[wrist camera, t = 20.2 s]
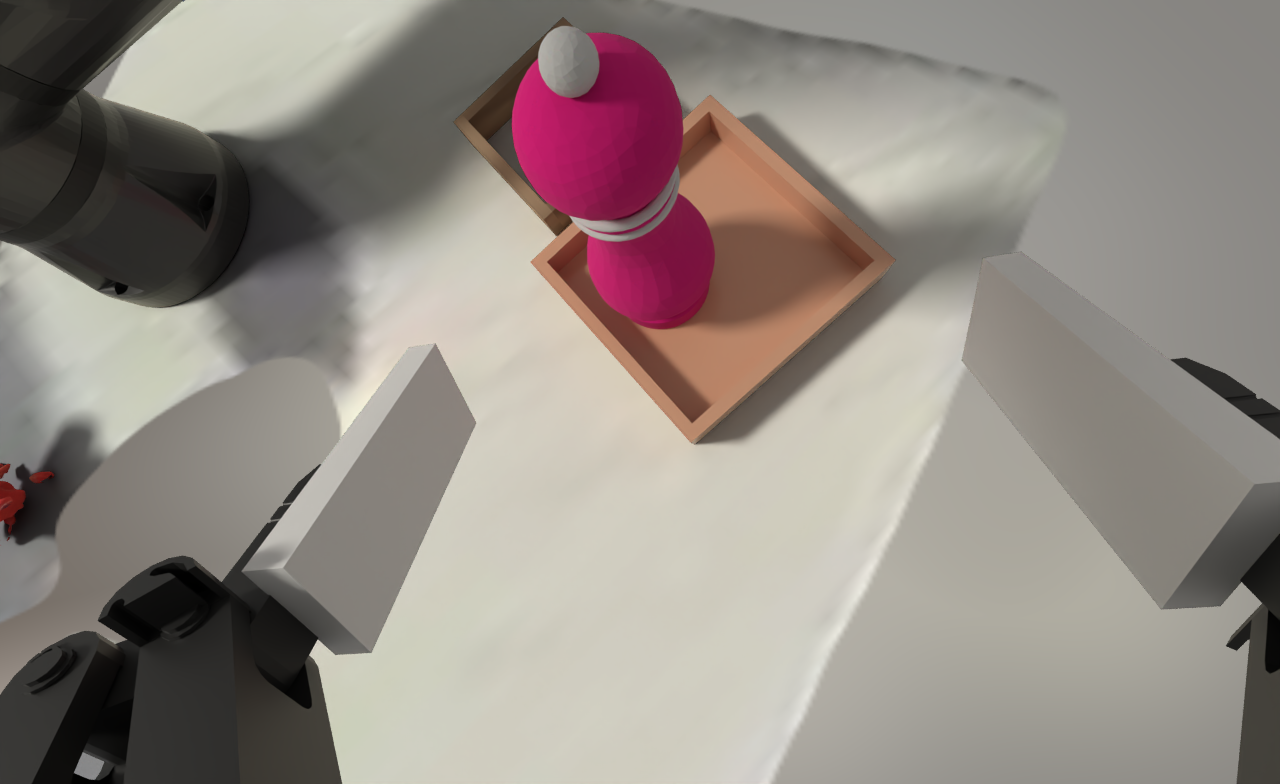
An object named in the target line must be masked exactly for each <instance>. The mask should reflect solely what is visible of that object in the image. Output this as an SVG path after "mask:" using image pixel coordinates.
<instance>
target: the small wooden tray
mask: <svg viewBox="0 0 1280 784" xmlns="http://www.w3.org/2000/svg"><path fill="white" fill-rule="evenodd" d="M560 26H570V27H573V26H572V25H571V24H570V23H569V22H568V21H567V20H566V19H565V18H564V17H563V18H562V19H560V20H559V21H558V22H557V23H556V24H555V25H554V26H553V27H552V28H551V29H550V30H549V31H548V32H547V33H546V34H545V35H544V36H543V37H542V38H541V39H540V40H539V41H537V42H536V43H535V44H534V45H533V46H532V47H531V48H530V49H529V50H528V51H527V52H526V53H525V54H524V55H523V56H522V57H521V58H520V59H519V60H518V61H517V62H515V63H514V64H513V65H512V66H511V67H510V68H509V69H508V70H507V71H506V72H505V73H504V74H503V75H502V76H501V77H500V78H499V79H498V80H497V81H496V82H495V83H494V84H492V85H491V86H490V87H489V88H488V89H487V90H486V91H485V92H484V93H483V94H482V95H481V96H480V97H479V98H478V99H477V100H476V101H475V102H474V103H473V104H472V105H471V106H469V107H468V108H467V109H466V110H465V111H464V112H463V113H462V114H461V115H460V116H459V117H458V118H457V119H456V120H455V121H454V123H455V125H456V126H457V127H458V128H459V129H460V131H461V132H462V133H463V134H464V135H465V137H466V138H467V139H468V140H469V141H470V143H471V144H472V145H473V146H474V147H475V148H476V149H477V150H478V151H479V153H480V154H481V155H482V156H483V157H484V158H485V159H486V160H487V161H488V162H489V163H490V164H491V166H492V167H493V168H494V169H495V170H496V171H497V172H498V173H499V174H500V175H501V176H502V178H503V179H504V180H505V181H506V182H507V183H508V184H509V185H510V186H511V187H512V188H513V189H514V191H515V192H516V193H517V194H518V195H519V196H520V197H521V198H522V199H523V200H524V201H525V203H526V204H527V205H528V206H529V207H530V208H531V209H532V210H533V211H534V212H535V213H536V214H537V216H538V217H539V218H540V219H541V220H542V221H543V222H544V223H545V224H546V225H547V226H548V228H549V229H550V230H551V231H552V232H553V233H554V234H555V235H556V236H557V235H558V234H559V233H560V232H561V231H562V230H564V229H565V228H566V227H567V226H568V225H569V224H570V223H571V222H572V219H571V218H570V216H569V215H567V214H565V213H562V212H560V211H559V210H557V209H556V208H554V207H553V206H552V205H550V204H549V203H546V204H545V203H544V202H543V201H542V200H541V199H540V198H539V197H538V196H537V195H536V193H535V192H534V191H533V190H532V189H531V188H530V187H529V186H528V185H527V184H526V183H525V182H524V181H523V180H522V178H521V177H520V176H519V175H518V174H517V173H516V172H515V171H514V170H513V169H512V168H511V167H510V166H509V165H508V163H507V162H506V161H505V160H504V159H503V158H502V157H501V156H500V155H499V154H498V153H497V152H496V151H495V149H494V148H493V147H492V146H491V145H490V144H489V143H488V142H487V140H488V139H489V138H490V137H491V136H492V135H493V134H494V133H495V132H496V131H497V130H499V129H500V128H501V127H502V126H503V125H504V124H505V123H506V122H507V121H508V120H509V119H510V118H511V117H512V111H513V107H514V102H515V98H516V94H517V91H518V89H519V86H520V83H521V81H522V80H523V78H524V76H525V74H526V72H527V70H528V69H529V68H530V67H531V65H532V64H533V63H534V62H535V61H536V60H537V59H538V53H539V49H540V45H541V43H542V41H543V39H544V38H545V37H546V35H547V34H548V33H549V32H550V31H552V30H553V29H555V28H558V27H560Z"/></svg>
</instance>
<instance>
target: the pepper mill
mask: <svg viewBox="0 0 1280 784" xmlns="http://www.w3.org/2000/svg"><path fill="white" fill-rule="evenodd" d="M683 130H684V128H683V119H682V109H681V105H680V102H679V99H678V96H677V93H676V90H675V87H674V85H673V83H672V81H671V79H670V77H669V75H668V74H667V72H666V70H665V69H664V67H663V66H662V65H661V64H660V63H659V62H658V60H657V59H656V58H655V57H654V56H653V54H651V53H650V52H649V51H648V50H646V49H645V48H644V47H642V46H641V45H639V44H638V43H636V42H635V41H633V40H630V39H628V38H625V37H623V36H620V35H615V34H609V33H584V32H583V31H581V30H580V29H578V28H577V27H570V26H560V27H558V28H555V29H553V30H552V31H550V32H549V33H548V34H547V35H546V37H545V38H544V39H543V41H542V43H541V45H540V49H539V53H538V59H537V60H536V61H535V62H534V63H533V64H532V65H531V67H530V68H529V69H528V70H527V72H526V74H525V76H524V78H523V80H522V81H521V83H520V86H519V89H518V91H517V94H516V98H515V102H514V107H513V111H512V133H513V141H514V147H515V150H516V153H517V156H518V160H519V163H520V166H521V168H522V170H523V171H524V173H525V175H526V177H527V179H528V180H529V181H530V183H531V184H532V186H533V187H534V189H535V190H536V192H537V193H538V194H539V195H540V196H541V197H542V198H543V199H544V200H545V201H546V202H547V203H549V204H550V205H552V206H553V207H554V208H556V209H557V210H559V211H560V212H562V213H565V214H567V215H569V216H570V218H571V219H572V221H573V222H574V223H575V225H576V226H577V227H578V228H579V229H581V230H582V231H583V232H585V233H586V234H588V235H589V236H588V243H587V263H588V268H589V273H590V276H591V278H592V281H593V283H594V285H595V287H596V289H597V291H598V292H599V294H600V295H601V297H602V298H603V300H604V301H605V302H606V303H607V304H608V305H609V306H610V307H611V308H613V309H614V310H616V311H617V312H619V313H620V314H622V315H624V316H627V317H629V318H630V319H631V320H632V321H633V322H635V323H637V324H639V325H641V326H644V327H646V328H651V329H668V328H673V327H676V326H679V325H681V324H683V323H685V322H686V321H688V320H689V319H691V318H692V317H693V316H694V315H695V314H696V313H697V312H698V311H699V310H700V308H701V307H702V305H703V304H704V302H705V300H706V298H707V295H708V291H709V285H710V279H711V277H712V273H713V269H714V263H715V249H714V243H713V239H712V236H711V233H710V229H709V227H708V225H707V223H706V220H705V219H704V217H703V216H702V214H701V213H700V212H699V211H698V209H697V208H696V207H695V206H694V205H693V204H692V203H691V202H690V201H689V200H688V199H687V198H685V197H684V196H683V195H681V194H679V193H678V190H679V184H680V177H679V168H678V161H679V158H680V154H681V150H682V146H683Z"/></svg>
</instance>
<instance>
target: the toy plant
mask: <svg viewBox="0 0 1280 784" xmlns="http://www.w3.org/2000/svg"><path fill="white" fill-rule="evenodd" d="M9 468H10V464H7V465H5V466H3V464H0V479H1V478H2V477H3V475H4V473H7V472H8V470H9ZM50 475H52V476H53V477H54V474H53V473H52V472H38V473H35V474H33V475H32V476H30V478H29V479H30V480H31V481H32V482H34V483H43V482H40V481H42V480H45V479H46V478H48V477H49V476H50ZM53 477H51V478H53ZM49 479H50V478H49ZM25 499H26V495H25V491H23V490H16V489H15V488H14V487H13V486H12V485H11V484H10V483H8V482H5V481H0V522H1V521H3V520H4V522H5V523H6V524H9V525H10V527H9V529H8V532H9V531H10V534H11V529H12V525H13V524H15V522H16V519H15V516H14V514H15V513H16V512H17V510H19V509H21V508H23V506H24V505H23V504H22V503H23V502H24V500H25ZM9 539H10V537H8V539H7V541H8V540H9Z"/></svg>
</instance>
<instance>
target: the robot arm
mask: <svg viewBox="0 0 1280 784" xmlns="http://www.w3.org/2000/svg"><path fill="white" fill-rule="evenodd" d="M182 1H183V2H184V1H185V0H0V240H1V241H4V242H7V243H10V244H13V245H17V246H19V247H21V248H23V249H25V250H27V251H29V252H30V253H32V254H34V255H36V256H37V257H39V258H41V259H42V260H44V261H46V262H48V263H49V264H51V265H53V266H55V267H56V268H58V269H60V270H62V271H63V272H65V273H67V274H68V275H70V276H72V277H74V278H75V279H77V280H79V281H81V282H82V283H84V284H86V285H88V286H89V287H91V288H93V289H94V290H96V291H98V292H100V293H102V294H104V295H107V296H109V297H112V298H115V299H119V300H122V301H126V302H130V303H134V304H137V305H141V306H146V307H167V306H172V305H176V304H179V303H181V302H184V301H186V300H188V299H190V298H192V297H194V296H196V295H197V294H199V293H200V292H202V291H203V290H204V289H206V288H207V287H208V286H209V285H210V284H211V283H213V282H214V281H215V280H216V279H217V278H218V277H219V275H220V274H221V273H222V272H223V271H224V269H225V268H226V267H227V265H228V264H229V262H230V261H231V259H232V258H233V256H234V254H235V252H236V250H237V249H238V246H239V244H240V242H241V239H242V237H243V234H244V231H245V227H246V223H247V218H248V210H249V193H248V186H247V181H246V177H245V175H244V172H243V170H242V167H241V165H240V164H239V162H238V160H237V159H236V158H235V156H234V155H233V154H232V153H231V152H230V151H229V150H228V149H227V148H226V147H224V146H223V145H221V144H220V143H218V142H217V141H215V140H213V139H212V138H210V137H209V136H207V135H205V134H204V133H202V132H200V131H199V130H197V129H195V128H193V127H191V126H189V125H186V124H184V123H181V122H178V121H174V120H171V119H168V118H165V117H161V116H158V115H155V114H152V113H148V112H145V111H142V110H139V109H135V108H132V107H129V106H125V105H122V104H119V103H116V102H112V101H109V100H106V99H103V98H99V97H97V96H94V95H92V94H91V93H89V92H87V91H85V90H84V89H83V88H84V87H85V86H86V85H87V84H88V83H89V82H91V81H92V80H93V79H94V78H95V77H96V76H97V75H99V74H100V73H101V72H102V71H103V70H104V69H105V68H106V67H108V66H109V65H110V64H111V63H112V62H113V61H114V60H116V59H117V58H118V57H119V56H120V55H121V54H122V53H124V52H125V51H126V50H127V49H128V48H129V47H130V46H132V45H133V44H134V43H135V42H136V41H137V40H138V39H140V38H141V37H142V36H143V35H144V34H145V33H146V32H147V31H149V30H150V29H151V28H152V27H153V26H154V25H155V24H157V23H158V22H159V21H160V20H161V19H162V18H163V17H165V16H166V15H167V14H168V13H169V12H170V11H171V10H173V9H174V8H175V7H176V6H177V5H178V4H179V3H180V2H182ZM962 362H963V363H964V364H965V365H966V367H967V368H968V369H969V370H970V372H971V373H972V374H973V375H974V377H975V378H976V379H977V380H978V382H979V383H980V384H981V385H982V387H983V388H984V389H985V390H986V391H987V393H988V394H989V395H990V397H991V398H992V399H993V400H994V401H995V403H996V404H997V405H998V406H999V408H1000V409H1001V410H1002V411H1003V413H1004V414H1005V415H1006V416H1007V418H1008V419H1009V420H1010V421H1011V423H1012V424H1013V425H1014V426H1015V428H1016V429H1017V430H1018V431H1019V433H1020V434H1021V435H1022V436H1023V438H1024V439H1025V440H1026V441H1027V443H1028V444H1029V445H1030V446H1031V448H1032V449H1033V450H1034V451H1035V453H1036V454H1037V455H1038V456H1039V458H1040V459H1041V460H1042V461H1043V463H1044V464H1045V465H1046V466H1047V468H1048V469H1049V470H1050V471H1051V473H1052V474H1053V475H1054V476H1055V478H1056V479H1057V480H1058V481H1059V483H1060V484H1061V485H1062V486H1063V488H1064V489H1065V490H1066V491H1067V493H1068V494H1069V495H1070V496H1071V498H1072V499H1073V500H1074V501H1075V503H1076V504H1077V505H1078V506H1079V508H1080V509H1081V510H1082V511H1083V513H1084V514H1085V515H1086V516H1087V518H1088V519H1089V520H1090V521H1091V523H1092V524H1093V525H1094V526H1095V527H1096V529H1097V530H1098V531H1099V532H1100V534H1101V535H1102V536H1103V537H1104V539H1105V540H1106V541H1107V543H1108V544H1109V545H1110V546H1111V547H1112V549H1113V550H1114V551H1115V552H1116V554H1117V555H1118V556H1119V558H1120V559H1121V560H1122V561H1123V562H1124V564H1125V565H1126V566H1127V567H1128V569H1129V570H1130V571H1131V572H1132V574H1133V575H1134V576H1135V577H1136V579H1137V580H1138V581H1139V582H1140V584H1141V585H1142V586H1143V587H1144V589H1145V590H1146V591H1147V592H1148V594H1149V595H1150V596H1151V597H1152V599H1153V600H1154V601H1155V602H1156V604H1157V605H1158V606H1159V607H1160V609H1178V608H1196V607H1214V606H1221V605H1222V604H1223V603H1224V601H1225V600H1226V599H1227V598H1228V597H1229V596H1230V595H1231V593H1232V592H1233V591H1234V590H1235V589H1236V588H1237V586H1238V585H1239V584H1240V583H1241V582H1242V583H1243V584H1244V585H1245V586H1246V587H1247V588H1248V589H1249V590H1250V591H1251V592H1252V593H1253V594H1254V595H1255V596H1256V597H1257V598H1258V599H1259V600H1260V601H1261V602H1262V604H1261V605H1260V606H1259V608H1258V609H1257V610H1256V611H1255V612H1254V613H1253V614H1252V615H1251V616H1250V617H1249V618H1248V619H1247V620H1246V621H1245V622H1244V623H1243V624H1242V625H1241V627H1239V629H1238V630H1237V631H1236V632H1235V633H1234V634H1233V635H1232V636H1231V638H1230V640H1229V641H1228V643H1227V645H1226V646H1227V647H1229V648H1232V649H1234V650H1238V649H1239V648H1240V647H1241V646H1242V645H1243V644H1244V643H1245V642H1246V641H1247V640H1249V639H1250V644H1249V654H1248V666H1247V676H1246V688H1245V699H1244V710H1243V720H1242V732H1241V742H1240V753H1239V764H1238V776H1237V784H1280V410H1278V409H1277V408H1275V407H1274V406H1272V405H1271V404H1270V403H1268V402H1267V401H1265V400H1263V399H1257V398H1256V394H1255V393H1253V392H1252V391H1250V390H1249V389H1247V388H1246V387H1244V386H1243V385H1242V384H1240V383H1239V382H1237V381H1236V380H1234V379H1233V378H1231V377H1230V376H1228V375H1227V374H1225V373H1223V372H1220V371H1218V370H1215V369H1213V368H1210V367H1208V366H1205V365H1202V364H1200V363H1197V362H1195V361H1193V360H1190V359H1187V358H1180V359H1171V360H1170V359H1168V358H1167V357H1166V356H1164V355H1163V354H1161V353H1160V352H1159V351H1157V350H1156V349H1155V348H1153V347H1152V346H1150V345H1149V344H1148V343H1146V342H1145V341H1144V340H1142V339H1141V338H1139V337H1138V336H1137V335H1135V334H1134V333H1133V332H1131V331H1130V330H1128V329H1127V328H1126V327H1124V326H1123V325H1121V324H1120V323H1119V322H1117V321H1116V320H1115V319H1113V318H1112V317H1111V316H1109V315H1108V314H1106V313H1105V312H1103V311H1102V310H1101V309H1099V308H1098V307H1096V306H1095V305H1094V304H1092V303H1091V302H1090V301H1088V300H1087V299H1086V298H1084V297H1083V296H1081V295H1080V294H1079V293H1077V292H1076V291H1075V290H1073V289H1072V288H1070V287H1069V286H1068V285H1066V284H1065V283H1063V282H1062V281H1061V280H1060V279H1058V278H1057V277H1055V276H1054V275H1052V274H1051V273H1050V272H1048V271H1047V270H1046V269H1044V268H1043V267H1042V266H1040V265H1039V264H1037V263H1036V262H1035V261H1033V260H1032V259H1031V258H1029V257H1028V256H1026V255H1025V254H1024V253H1022V252H1016V253H1010V254H1003V255H997V256H991V257H984V258H983V260H982V265H981V270H980V275H979V280H978V284H977V289H976V294H975V299H974V303H973V308H972V313H971V318H970V323H969V327H968V332H967V337H966V342H965V347H964V351H963V356H962ZM475 425H476V421H475V419H474V417H473V415H472V413H471V411H470V410H469V408H468V406H467V404H466V402H465V400H464V398H463V396H462V394H461V392H460V390H459V388H458V386H457V384H456V382H455V380H454V378H453V376H452V375H451V373H450V371H449V369H448V367H447V365H446V363H445V361H444V359H443V357H442V355H441V353H440V351H439V349H438V347H437V345H436V343H435V344H428V345H422V346H415V347H409V348H408V349H407V350H406V352H405V353H404V354H403V356H402V357H401V359H400V360H399V361H398V363H397V364H396V365H395V367H394V368H393V369H392V371H391V372H390V373H389V375H388V376H387V377H386V379H385V380H384V381H383V383H382V384H381V385H380V387H379V388H378V389H377V391H376V392H375V393H374V395H373V396H372V397H371V399H370V400H369V401H368V403H367V404H366V405H365V407H364V408H363V409H362V411H361V412H360V413H359V415H358V416H357V417H356V419H355V420H354V421H353V423H352V424H351V425H350V427H349V428H348V429H347V431H346V432H345V433H344V435H343V436H342V437H341V439H340V440H339V441H338V443H337V444H336V446H335V447H334V448H333V450H332V451H331V452H330V454H329V455H328V456H327V458H326V459H325V461H324V462H323V463H322V464H320V465H318V466H317V467H316V468H315V469H313V470H312V471H311V472H310V473H309V474H308V475H306V476H305V477H304V478H303V479H302V480H301V481H299V482H298V483H297V485H296V486H295V487H294V489H293V490H292V491H291V493H290V494H289V495H288V496H287V498H286V499H285V500H284V502H283V506H280V507H279V508H278V509H277V511H276V512H275V514H274V515H273V516H272V517H271V523H267V524H266V525H265V526H264V528H263V529H262V530H261V532H260V533H259V534H258V536H257V537H256V538H255V539H254V541H253V542H252V543H251V545H250V546H249V547H248V549H247V550H246V551H245V553H244V554H243V555H242V556H241V558H240V559H239V560H238V562H237V563H236V564H235V566H234V567H233V568H232V569H231V571H230V572H229V573H228V575H227V576H226V577H225V579H224V580H223V581H222V582H220V581H219V580H218V579H217V578H216V577H215V576H213V575H212V574H211V573H210V572H209V571H207V570H206V569H205V568H204V567H203V566H201V565H200V564H199V563H198V562H197V561H195V560H194V559H193V558H190V557H186V556H179V557H174V558H168V559H166V560H164V561H162V562H159V563H157V564H155V565H153V566H151V567H149V568H148V569H146V570H144V571H143V572H141V573H140V574H138V575H137V576H135V577H133V578H132V579H131V580H130V581H129V582H128V583H126V584H125V585H124V586H123V587H122V588H121V589H119V590H118V591H117V592H116V593H115V595H114V596H113V597H112V598H111V599H110V600H109V602H108V603H107V604H106V605H105V607H104V608H103V610H102V612H101V614H100V617H99V619H98V621H99V622H101V623H102V624H104V625H106V626H107V627H108V628H110V629H112V630H113V631H115V632H116V633H118V634H119V635H121V636H123V637H124V638H126V639H127V640H125V641H122V642H120V643H117V644H114V643H112V642H111V641H109V640H108V639H106V638H104V637H103V636H101V635H100V634H98V633H96V632H91V631H83V632H80V633H76V634H73V635H70V636H68V637H66V638H64V639H62V640H60V641H58V642H57V643H55V644H53V645H50V646H49V647H47V648H46V649H44V650H43V651H42V652H41V653H38V654H37V655H36V656H35V657H33V658H32V659H31V660H30V661H29V662H28V663H27V664H26V666H24V667H23V668H22V669H21V670H20V671H19V672H18V673H17V674H16V675H15V676H14V677H13V678H12V680H11V681H10V682H9V684H8V685H7V686H6V688H5V689H4V690H3V692H2V693H1V695H0V784H342V781H341V776H340V771H339V766H338V761H337V757H336V752H335V747H334V742H333V737H332V732H331V727H330V722H329V718H328V713H327V708H326V703H325V698H324V693H323V688H322V683H321V679H320V674H319V669H318V666H317V664H316V663H315V661H314V659H313V658H311V657H310V656H309V654H310V652H311V650H312V649H313V647H314V645H315V643H316V641H317V640H319V641H320V642H322V643H323V644H324V645H325V646H326V647H327V648H328V649H330V650H331V651H332V652H333V653H334V654H335V655H340V654H358V653H371V652H372V650H373V648H374V646H375V644H376V642H377V639H378V637H379V635H380V633H381V631H382V628H383V626H384V624H385V622H386V620H387V617H388V615H389V613H390V611H391V609H392V606H393V604H394V602H395V600H396V598H397V596H398V593H399V591H400V589H401V587H402V585H403V582H404V580H405V578H406V576H407V574H408V571H409V569H410V567H411V565H412V563H413V560H414V558H415V556H416V554H417V552H418V549H419V547H420V545H421V543H422V541H423V539H424V536H425V534H426V532H427V530H428V528H429V525H430V523H431V521H432V519H433V517H434V514H435V512H436V510H437V508H438V506H439V503H440V501H441V499H442V497H443V495H444V492H445V490H446V488H447V486H448V484H449V482H450V479H451V477H452V475H453V473H454V471H455V468H456V466H457V464H458V462H459V460H460V457H461V455H462V453H463V451H464V449H465V446H466V444H467V442H468V440H469V438H470V436H471V433H472V431H473V429H474V427H475ZM82 752H84V753H86V754H88V755H91V756H93V757H95V758H97V759H100V760H102V761H104V764H103V767H102V770H101V772H100V773H99V775H98V776H97V778H96V779H95V780H89V779H87V778H84V777H82V776H79V775H77V774H75V773H74V771H75V769H76V766H77V764H78V762H79V759H80V757H81V755H82Z"/></svg>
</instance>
